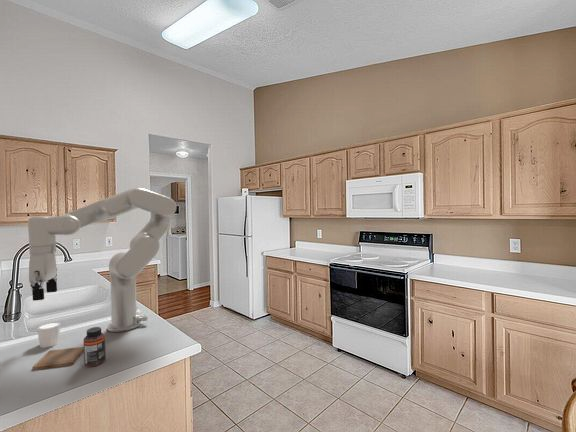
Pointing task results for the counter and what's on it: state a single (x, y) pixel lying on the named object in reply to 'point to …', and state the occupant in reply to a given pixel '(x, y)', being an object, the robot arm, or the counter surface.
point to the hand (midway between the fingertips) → (45, 295)
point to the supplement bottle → (94, 347)
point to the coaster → (59, 358)
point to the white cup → (49, 334)
